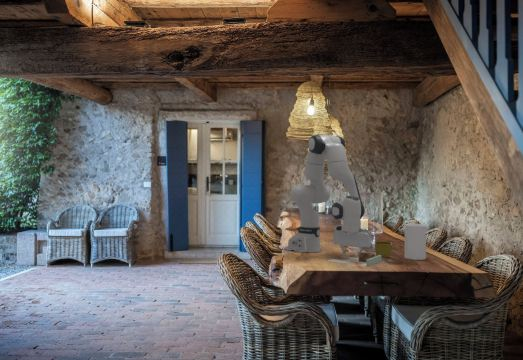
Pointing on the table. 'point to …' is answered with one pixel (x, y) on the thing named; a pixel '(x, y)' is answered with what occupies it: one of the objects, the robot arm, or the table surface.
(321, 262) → the table surface
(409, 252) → the cup
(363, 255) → the walnut block
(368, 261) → the trap deck
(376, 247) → the flower pot
